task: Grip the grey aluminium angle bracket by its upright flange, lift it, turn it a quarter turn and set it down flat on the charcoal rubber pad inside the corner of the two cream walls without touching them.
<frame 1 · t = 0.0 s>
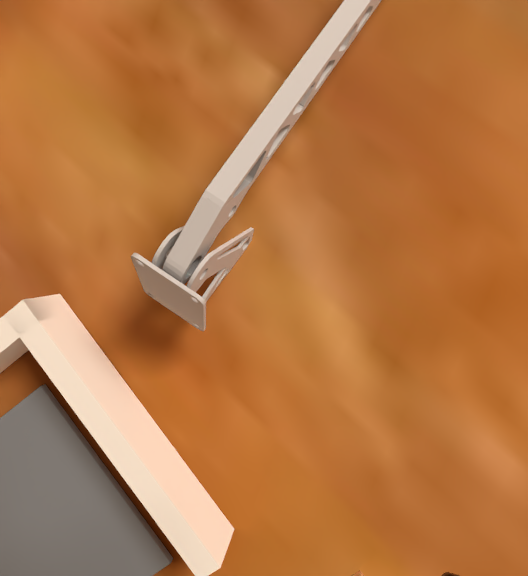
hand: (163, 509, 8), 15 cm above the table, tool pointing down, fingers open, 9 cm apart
bracket: (321, 97, 23), on the table
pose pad: (45, 517, 26), on the table
arena: (45, 517, 26), on the table
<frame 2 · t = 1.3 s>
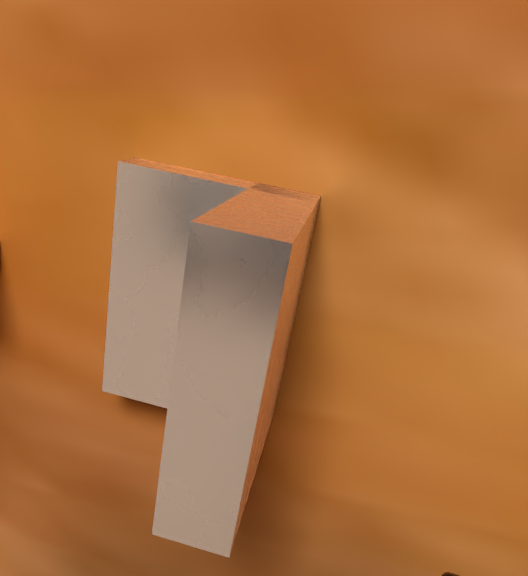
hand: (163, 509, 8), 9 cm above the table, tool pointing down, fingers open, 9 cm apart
aluminium bracket: (211, 292, 17), on the table
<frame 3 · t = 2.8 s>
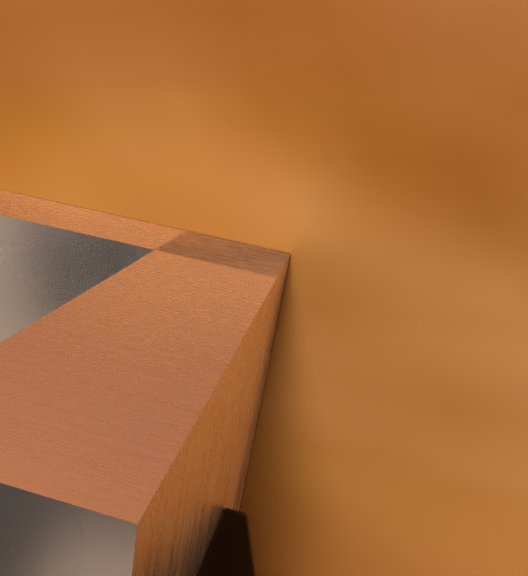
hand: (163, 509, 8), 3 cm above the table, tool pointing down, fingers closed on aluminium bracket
aluminium bracket: (121, 398, 11), on the table, touching gripper
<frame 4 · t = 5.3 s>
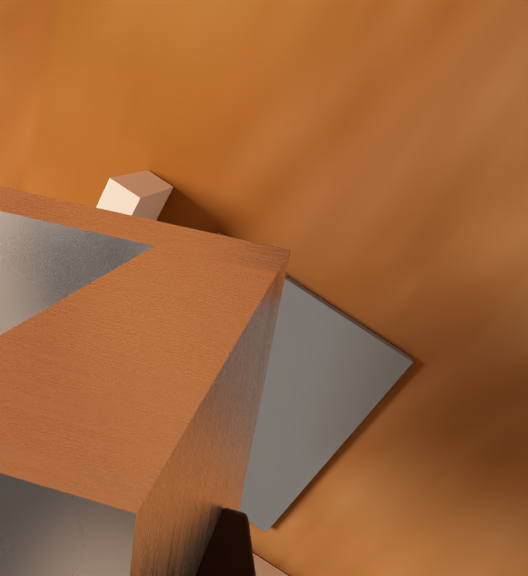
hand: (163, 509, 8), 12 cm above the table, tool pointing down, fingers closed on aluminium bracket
aluminium bracket: (121, 395, 11), point 10 cm above the table, touching gripper
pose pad: (245, 393, 21), on the table
arena: (245, 393, 21), on the table
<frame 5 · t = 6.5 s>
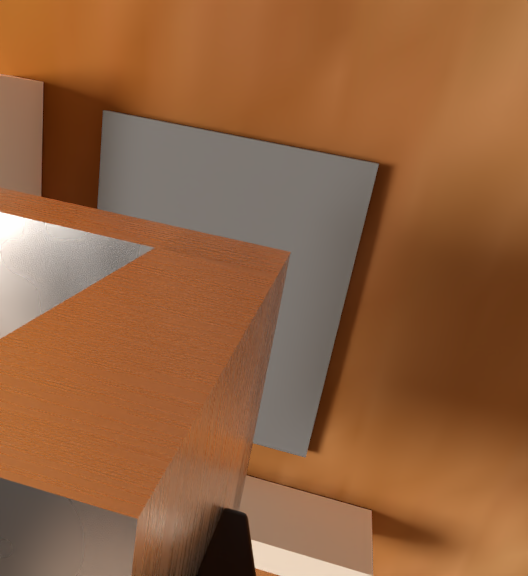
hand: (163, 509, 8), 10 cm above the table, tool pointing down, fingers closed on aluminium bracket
aluminium bracket: (121, 396, 11), point 7 cm above the table, touching gripper
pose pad: (215, 293, 18), on the table
arena: (215, 293, 18), on the table
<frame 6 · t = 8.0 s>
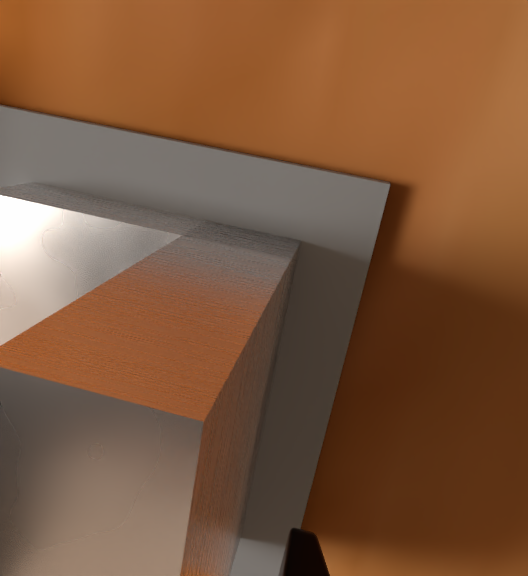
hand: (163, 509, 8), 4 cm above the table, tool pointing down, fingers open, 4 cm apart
aluminium bracket: (144, 375, 12), resting on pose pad
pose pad: (148, 368, 12), on the table
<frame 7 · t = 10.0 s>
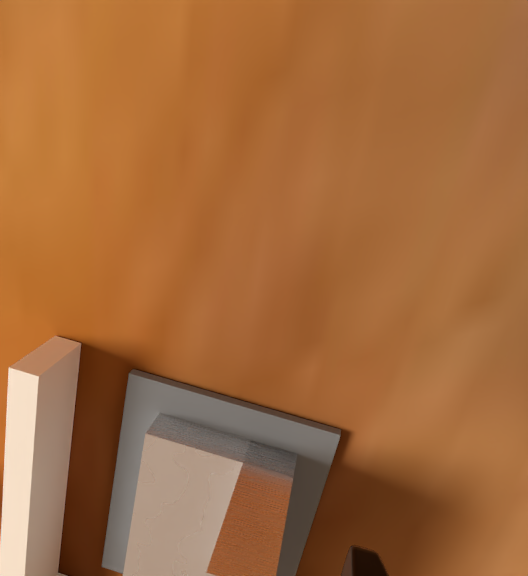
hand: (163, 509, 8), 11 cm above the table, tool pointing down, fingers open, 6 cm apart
aluminium bracket: (210, 507, 22), resting on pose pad
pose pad: (211, 501, 22), on the table
arena: (211, 501, 22), on the table
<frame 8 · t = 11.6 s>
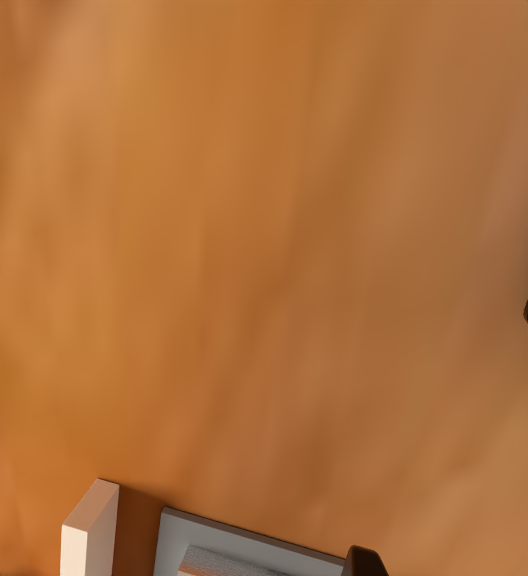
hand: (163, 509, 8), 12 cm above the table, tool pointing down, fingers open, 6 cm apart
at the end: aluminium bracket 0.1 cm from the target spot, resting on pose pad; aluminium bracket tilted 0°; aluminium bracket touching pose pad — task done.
